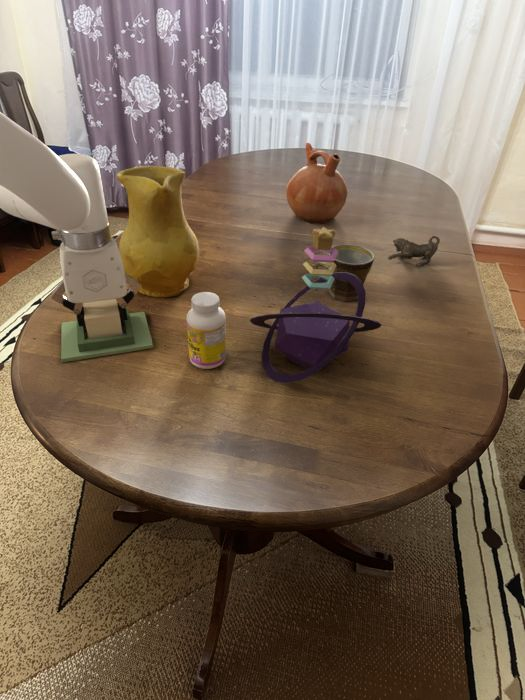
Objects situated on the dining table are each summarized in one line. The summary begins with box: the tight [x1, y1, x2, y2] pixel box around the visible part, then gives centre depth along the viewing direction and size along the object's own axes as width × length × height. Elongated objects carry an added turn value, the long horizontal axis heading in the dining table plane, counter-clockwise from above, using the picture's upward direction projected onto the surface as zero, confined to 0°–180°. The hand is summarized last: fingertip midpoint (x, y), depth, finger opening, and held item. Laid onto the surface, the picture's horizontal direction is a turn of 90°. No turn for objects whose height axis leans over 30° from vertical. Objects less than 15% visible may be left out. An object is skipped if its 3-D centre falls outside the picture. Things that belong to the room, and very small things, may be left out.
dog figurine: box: [387, 235, 441, 268], centre depth 119 cm, size 12×6×7 cm, turn 82°
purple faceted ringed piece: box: [249, 226, 382, 384], centre depth 79 cm, size 22×21×25 cm
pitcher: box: [116, 165, 200, 298], centre depth 100 cm, size 17×19×25 cm
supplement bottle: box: [186, 291, 227, 370], centre depth 81 cm, size 7×7×13 cm
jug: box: [286, 142, 348, 224], centre depth 138 cm, size 18×18×20 cm
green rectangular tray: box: [60, 308, 154, 363], centre depth 89 cm, size 16×12×3 cm
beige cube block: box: [83, 299, 123, 339], centre depth 87 cm, size 6×6×4 cm
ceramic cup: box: [315, 243, 375, 302], centre depth 103 cm, size 13×10×10 cm
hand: (104, 324), depth 88 cm, fingers closed on beige cube block, 6 cm apart
